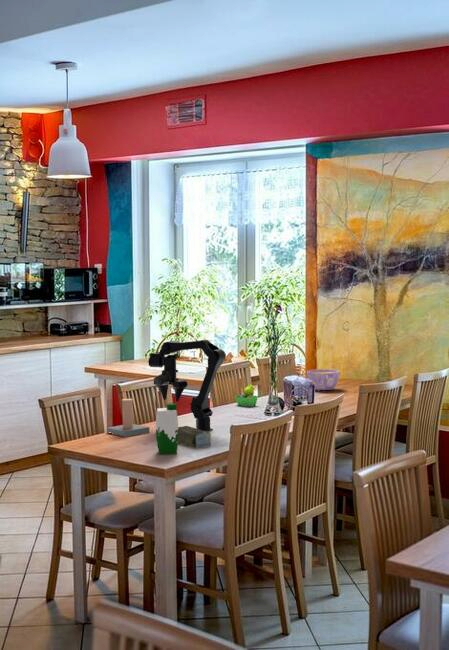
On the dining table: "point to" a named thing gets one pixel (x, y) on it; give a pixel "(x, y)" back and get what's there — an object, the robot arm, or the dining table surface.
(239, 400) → the fruit basket
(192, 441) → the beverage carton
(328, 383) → the purple round bowl
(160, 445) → the milk carton
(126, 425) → the block
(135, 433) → the plate
